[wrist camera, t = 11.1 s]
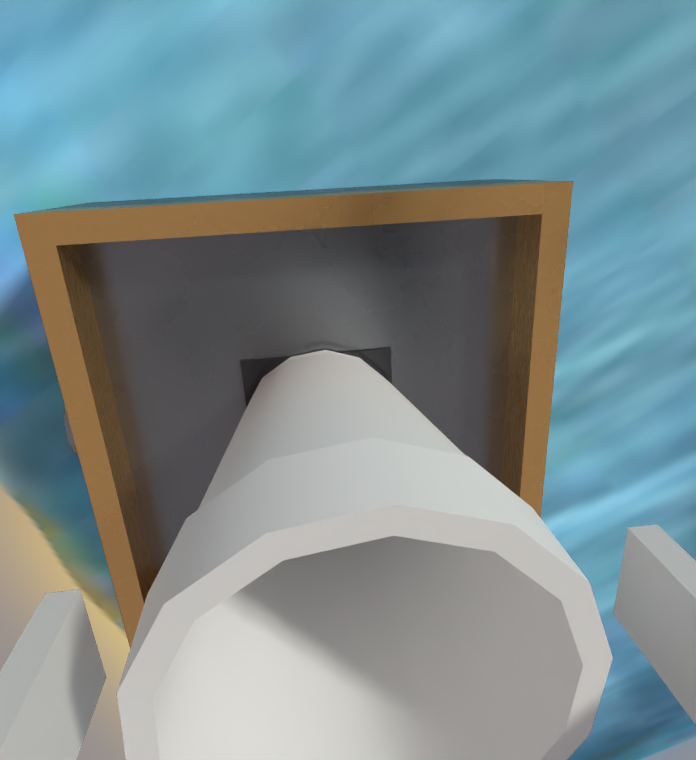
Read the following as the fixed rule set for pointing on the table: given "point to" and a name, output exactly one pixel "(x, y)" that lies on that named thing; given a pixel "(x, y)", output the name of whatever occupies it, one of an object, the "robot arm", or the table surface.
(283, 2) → the table surface
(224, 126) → the table surface
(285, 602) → the foam cup
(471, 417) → the wooden drawer tray
